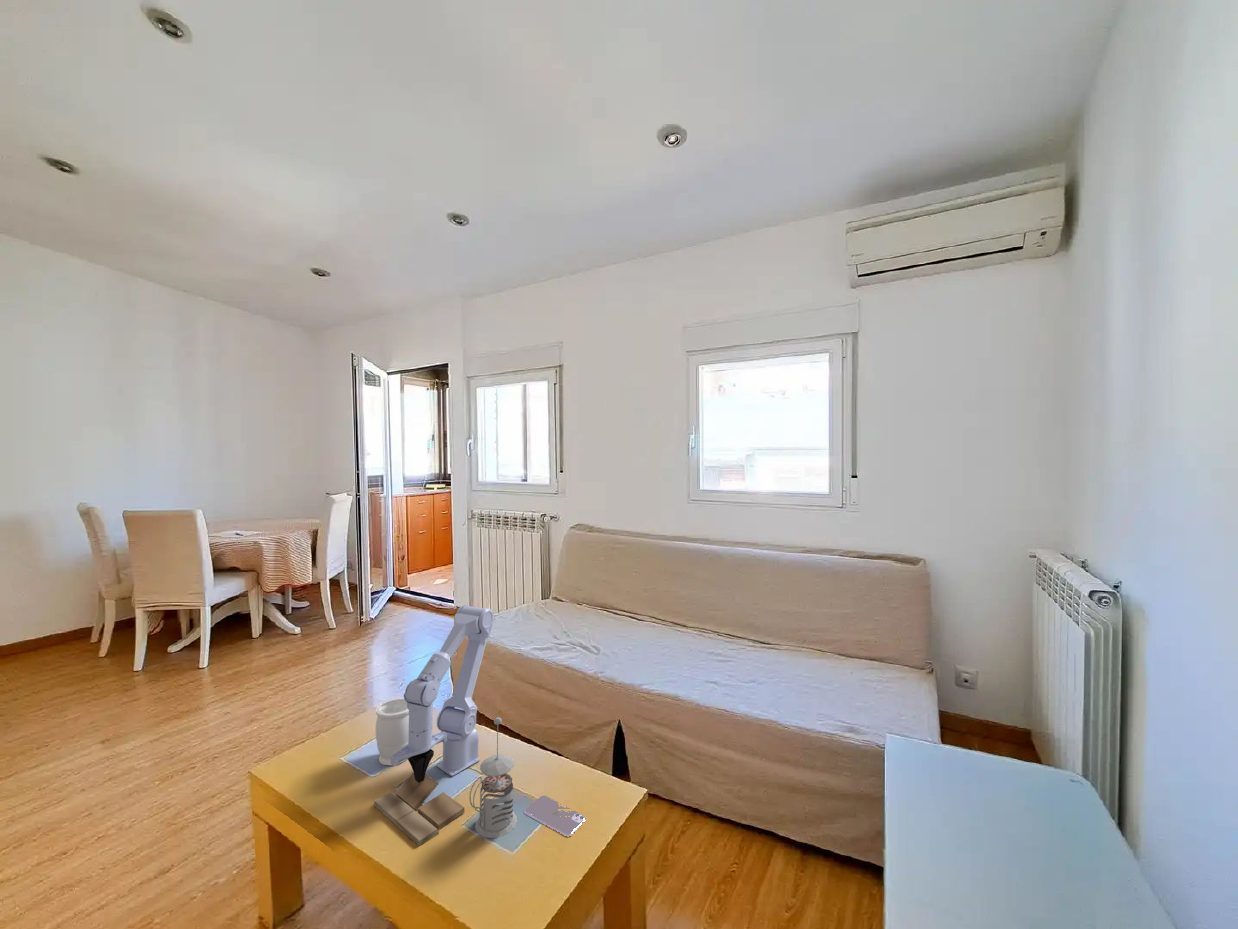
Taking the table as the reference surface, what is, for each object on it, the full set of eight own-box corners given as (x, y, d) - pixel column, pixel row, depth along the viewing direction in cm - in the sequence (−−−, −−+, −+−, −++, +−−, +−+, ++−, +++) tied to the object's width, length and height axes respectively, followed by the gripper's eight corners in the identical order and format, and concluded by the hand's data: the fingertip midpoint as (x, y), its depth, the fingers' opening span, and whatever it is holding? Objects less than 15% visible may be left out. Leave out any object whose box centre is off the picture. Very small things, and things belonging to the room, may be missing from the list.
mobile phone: (543, 793, 125) (589, 816, 117) (543, 796, 125) (589, 820, 117) (522, 810, 119) (569, 836, 110) (522, 814, 118) (569, 840, 110)
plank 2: (443, 797, 123) (443, 792, 123) (464, 812, 118) (464, 807, 118) (418, 813, 118) (418, 808, 118) (438, 830, 112) (438, 824, 112)
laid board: (392, 795, 124) (392, 790, 124) (438, 833, 111) (438, 828, 111) (374, 805, 120) (374, 800, 120) (419, 846, 107) (419, 840, 107)
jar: (421, 754, 142) (422, 704, 142) (388, 773, 133) (389, 719, 133) (400, 743, 147) (401, 694, 148) (367, 760, 139) (368, 708, 139)
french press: (525, 822, 115) (526, 718, 115) (481, 849, 107) (483, 736, 107) (503, 802, 122) (504, 703, 122) (460, 826, 114) (462, 720, 114)
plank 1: (419, 770, 129) (417, 767, 128) (438, 784, 123) (436, 781, 123) (397, 795, 124) (394, 793, 123) (415, 811, 118) (413, 808, 118)
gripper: (437, 711, 132) (436, 761, 132) (385, 734, 121) (383, 788, 121) (452, 719, 128) (451, 771, 128) (399, 744, 117) (398, 800, 116)
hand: (419, 780), depth 124 cm, fingers closed
